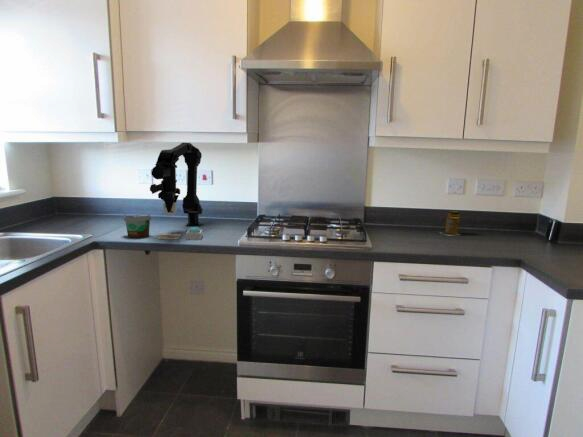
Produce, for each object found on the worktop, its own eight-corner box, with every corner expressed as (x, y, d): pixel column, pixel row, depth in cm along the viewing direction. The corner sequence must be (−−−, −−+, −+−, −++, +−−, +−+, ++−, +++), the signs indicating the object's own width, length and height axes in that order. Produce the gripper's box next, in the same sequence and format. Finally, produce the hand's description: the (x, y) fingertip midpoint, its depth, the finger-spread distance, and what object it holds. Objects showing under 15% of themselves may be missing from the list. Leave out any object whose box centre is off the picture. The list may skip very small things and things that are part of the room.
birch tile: (162, 234, 177) (162, 233, 177) (181, 234, 178) (181, 233, 178) (157, 239, 168) (157, 238, 168) (177, 239, 169) (177, 238, 169)
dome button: (190, 234, 175) (190, 226, 174) (199, 234, 175) (199, 226, 174) (188, 237, 170) (188, 228, 169) (198, 237, 171) (198, 228, 170)
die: (166, 212, 176) (165, 202, 175) (176, 212, 176) (176, 202, 175) (163, 214, 171) (163, 203, 170) (174, 214, 171) (174, 203, 170)
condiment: (461, 234, 192) (464, 212, 190) (449, 236, 188) (452, 213, 186) (449, 231, 198) (452, 209, 196) (438, 233, 195) (440, 210, 192)
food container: (120, 238, 168) (118, 216, 166) (125, 235, 174) (124, 214, 172) (147, 238, 169) (146, 217, 166) (152, 235, 175) (151, 214, 173)
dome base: (188, 235, 176) (188, 229, 175) (202, 235, 176) (202, 229, 176) (186, 239, 169) (186, 233, 169) (200, 239, 170) (200, 233, 169)
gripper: (156, 176, 179) (157, 208, 181) (145, 179, 160) (146, 214, 163) (180, 176, 180) (180, 208, 183) (171, 179, 162) (172, 214, 164)
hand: (170, 211), depth 173 cm, fingers closed on die, 5 cm apart
